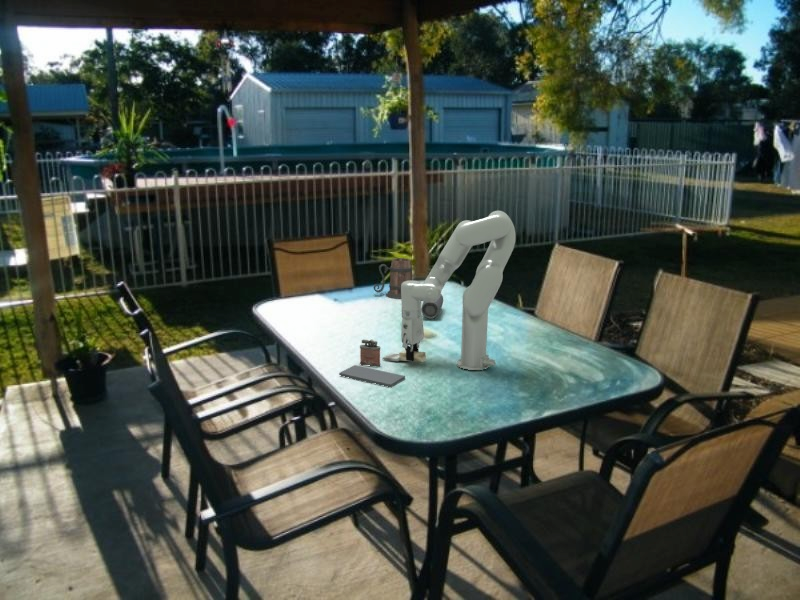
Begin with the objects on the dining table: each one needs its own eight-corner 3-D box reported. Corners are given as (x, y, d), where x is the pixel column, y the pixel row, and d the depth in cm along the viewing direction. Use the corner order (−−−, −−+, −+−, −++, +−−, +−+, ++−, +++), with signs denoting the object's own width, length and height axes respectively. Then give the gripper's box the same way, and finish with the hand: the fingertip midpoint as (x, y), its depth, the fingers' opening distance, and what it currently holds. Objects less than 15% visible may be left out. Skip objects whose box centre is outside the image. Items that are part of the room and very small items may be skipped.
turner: (427, 358, 258) (427, 351, 257) (420, 362, 253) (419, 355, 252) (390, 355, 267) (389, 348, 266) (382, 360, 262) (381, 352, 261)
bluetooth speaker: (439, 321, 316) (440, 301, 313) (420, 320, 317) (420, 300, 315) (444, 309, 338) (444, 290, 335) (425, 308, 339) (426, 289, 337)
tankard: (413, 291, 375) (413, 256, 370) (419, 298, 359) (419, 262, 354) (371, 293, 371) (371, 257, 366) (376, 300, 355) (376, 263, 350)
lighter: (381, 364, 257) (381, 339, 254) (378, 367, 254) (378, 342, 251) (361, 362, 259) (361, 337, 256) (358, 365, 256) (358, 340, 253)
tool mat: (405, 379, 242) (405, 375, 241) (390, 387, 233) (390, 384, 233) (354, 368, 253) (354, 365, 252) (339, 375, 244) (339, 372, 244)
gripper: (409, 319, 245) (410, 367, 249) (430, 309, 259) (431, 354, 263) (391, 317, 249) (393, 364, 253) (413, 307, 262) (414, 352, 267)
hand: (412, 358), depth 258 cm, fingers closed on turner, 2 cm apart
